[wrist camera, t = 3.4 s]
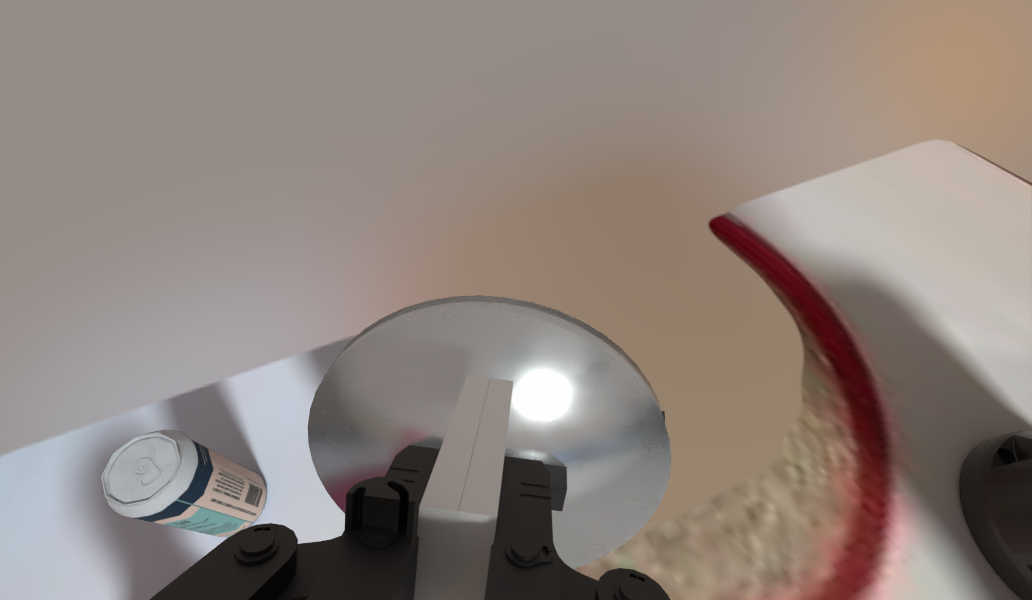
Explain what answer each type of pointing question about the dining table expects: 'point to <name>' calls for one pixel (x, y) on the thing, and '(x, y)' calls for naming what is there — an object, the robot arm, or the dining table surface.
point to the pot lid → (533, 412)
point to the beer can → (182, 485)
